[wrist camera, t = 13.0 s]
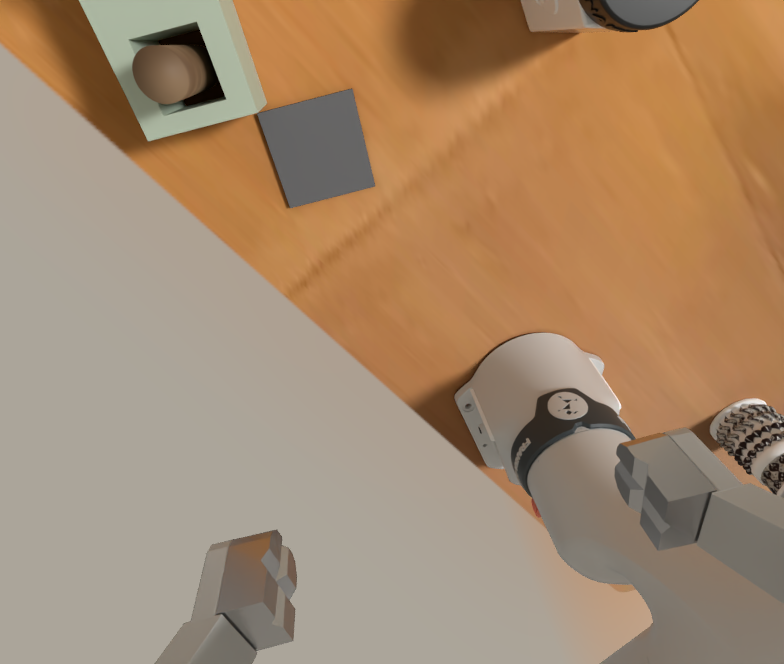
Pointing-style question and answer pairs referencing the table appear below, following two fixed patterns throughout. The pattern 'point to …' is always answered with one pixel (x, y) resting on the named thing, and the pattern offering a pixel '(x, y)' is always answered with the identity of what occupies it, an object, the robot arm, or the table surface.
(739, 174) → the table surface
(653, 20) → the jar
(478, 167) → the table surface
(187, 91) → the walnut peg
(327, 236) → the table surface
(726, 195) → the table surface
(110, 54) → the socket block
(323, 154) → the mat
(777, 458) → the decorative candle
